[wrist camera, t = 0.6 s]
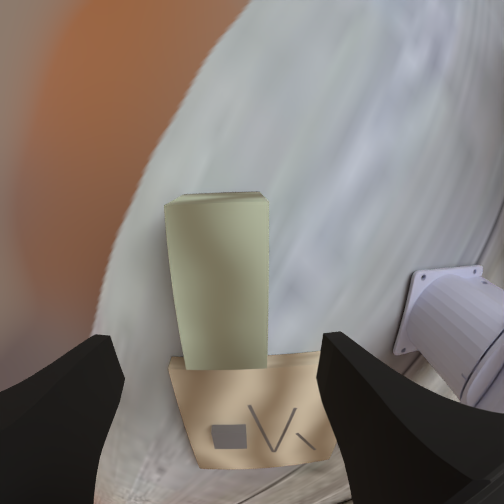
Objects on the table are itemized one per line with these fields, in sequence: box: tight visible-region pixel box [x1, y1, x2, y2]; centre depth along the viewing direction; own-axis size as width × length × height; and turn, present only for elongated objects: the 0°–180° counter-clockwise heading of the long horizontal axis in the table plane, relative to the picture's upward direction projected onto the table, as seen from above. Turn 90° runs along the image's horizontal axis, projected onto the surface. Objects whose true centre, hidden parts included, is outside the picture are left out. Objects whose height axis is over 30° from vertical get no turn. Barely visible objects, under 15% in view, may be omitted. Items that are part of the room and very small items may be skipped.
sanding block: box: [164, 192, 269, 370], centre depth 15 cm, size 4×9×5 cm, turn 1°
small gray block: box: [211, 424, 247, 449], centre depth 20 cm, size 3×3×1 cm
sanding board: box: [168, 351, 337, 469], centre depth 22 cm, size 15×17×2 cm
